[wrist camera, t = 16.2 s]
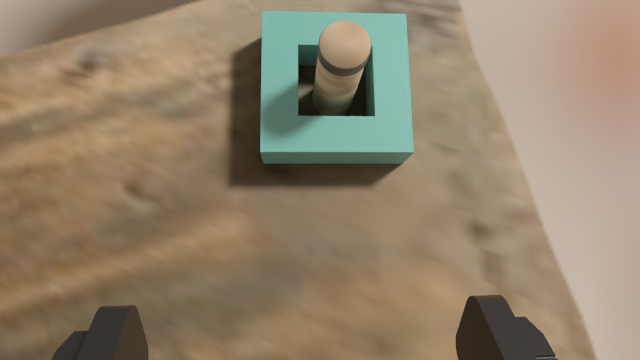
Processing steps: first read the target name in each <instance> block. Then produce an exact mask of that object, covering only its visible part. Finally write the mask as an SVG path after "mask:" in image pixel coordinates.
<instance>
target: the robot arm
mask: <svg viewBox="0 0 640 360" xmlns="http://www.w3.org/2000/svg"><path fill="white" fill-rule="evenodd" d="M456 351H457V356H458V359H459V360H558V359H556V358H555V354H554V352H553V350H552V349H551V347H550V345H549V343H548V341H547V340H546V338H545V336H544V334H543V333H542V332H541V331H539V330H538V329H537V328H536V327H535V326H534V325H533V324H532V323H531V322H530V321H529V320H528V319H527V318H526V317H515V316H514V314H513V312H512V311H511V309H510V307H509V305H508V303H507V301H506V300H505V298H504V297H503V296H501V295H487V296H470V297H469V298H468V299H467V302H466V305H465V308H464V312H463V315H462V318H461V321H460V324H459V328H458V331H457V334H456ZM52 360H148V345H147V341H146V337H145V334H144V330H143V327H142V323H141V320H140V316H139V313H138V310H137V307H136V306H134V305H131V306H102V307H100V308H99V309H98V310H97V312H96V314H95V316H94V319H93V321H92V323H91V326H90V328H89V331H74V332H73V333H72V334H71V336H70V337H69V338H68V339H67V340H66V341H65V342H64V343H63V344H62V345H61V346H60V347H59V348H58V349H57V351H56V352H55V354H54V356H53V358H52Z"/></svg>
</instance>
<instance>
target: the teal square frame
mask: <svg viewBox="0 0 640 360" xmlns="http://www.w3.org/2000/svg"><path fill="white" fill-rule="evenodd" d="M337 21H351V22H354V23H357V24H358V25H360V26H361V27H363V28H364V29H365V31H366V32H367V33H368V35H369V37H370V40H371V52H370V55H369V58H368V61H367V63H366V65H365V75H366V103H367V116H298V66H317V58H318V43H319V38H320V35H321V33H322V31H323V30H324V29H325V28H326V27H327V26H328V25H330V24H332V23H334V22H337ZM413 152H414V148H413V130H412V113H411V95H410V78H409V60H408V42H407V25H406V14H380V13H333V12H285V11H262V56H261V127H260V153H261V157H262V161H263V164H403V163H404V162H405V161H406V160H407V159H408V158H409V156H410V155H411V154H412V153H413Z"/></svg>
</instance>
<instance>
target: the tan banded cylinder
mask: <svg viewBox="0 0 640 360" xmlns="http://www.w3.org/2000/svg"><path fill="white" fill-rule="evenodd" d="M370 52H371V40H370V37H369V35H368V33H367V32H366V31H365V29H364V28H363V27H361V26H360V25H358V24H357V23H354V22H351V21H337V22H334V23H332V24H330V25H328V26H327V27H326V28H325V29H324V30H323V31H322V33H321V35H320V38H319V43H318V58H317V66H316V74H315V82H314V90H313V104H314V107H315V109H316V110H317V111H318V112H319V113H320V114H322V115H323V116H342V115H344V114H345V113H346V112H347V111H348V110H349V108H350V106H351V104H352V101H353V98H354V95H355V92H356V90H357V87H358V84H359V81H360V78H361V75H362V73H363V70H364V67H365V65H366V63H367V61H368V58H369V55H370Z"/></svg>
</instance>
